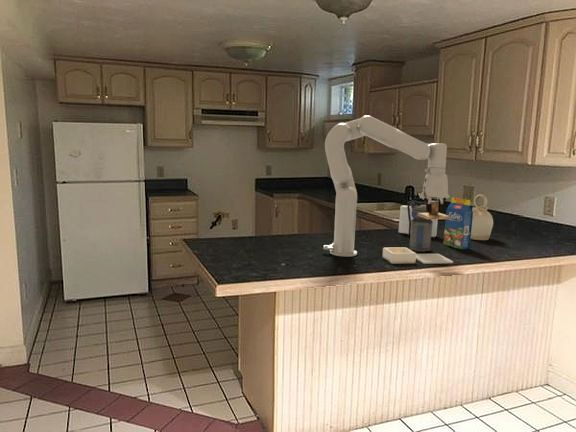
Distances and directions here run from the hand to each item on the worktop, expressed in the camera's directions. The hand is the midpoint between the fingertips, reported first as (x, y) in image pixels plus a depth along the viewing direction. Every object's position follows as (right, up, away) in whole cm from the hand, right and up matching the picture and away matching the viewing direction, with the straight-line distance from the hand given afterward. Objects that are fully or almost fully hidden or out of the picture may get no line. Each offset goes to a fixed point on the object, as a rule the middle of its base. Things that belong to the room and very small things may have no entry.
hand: (433, 212), depth 208 cm
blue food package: (+22, -18, +32) cm, 42 cm away
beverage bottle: (-1, -19, +22) cm, 29 cm away
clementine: (-16, -21, +1) cm, 26 cm away
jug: (+42, -15, +55) cm, 71 cm away
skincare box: (+10, -13, +61) cm, 63 cm away
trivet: (0, -22, +4) cm, 22 cm away
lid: (0, -2, 0) cm, 2 cm away
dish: (-16, -22, +1) cm, 27 cm away
